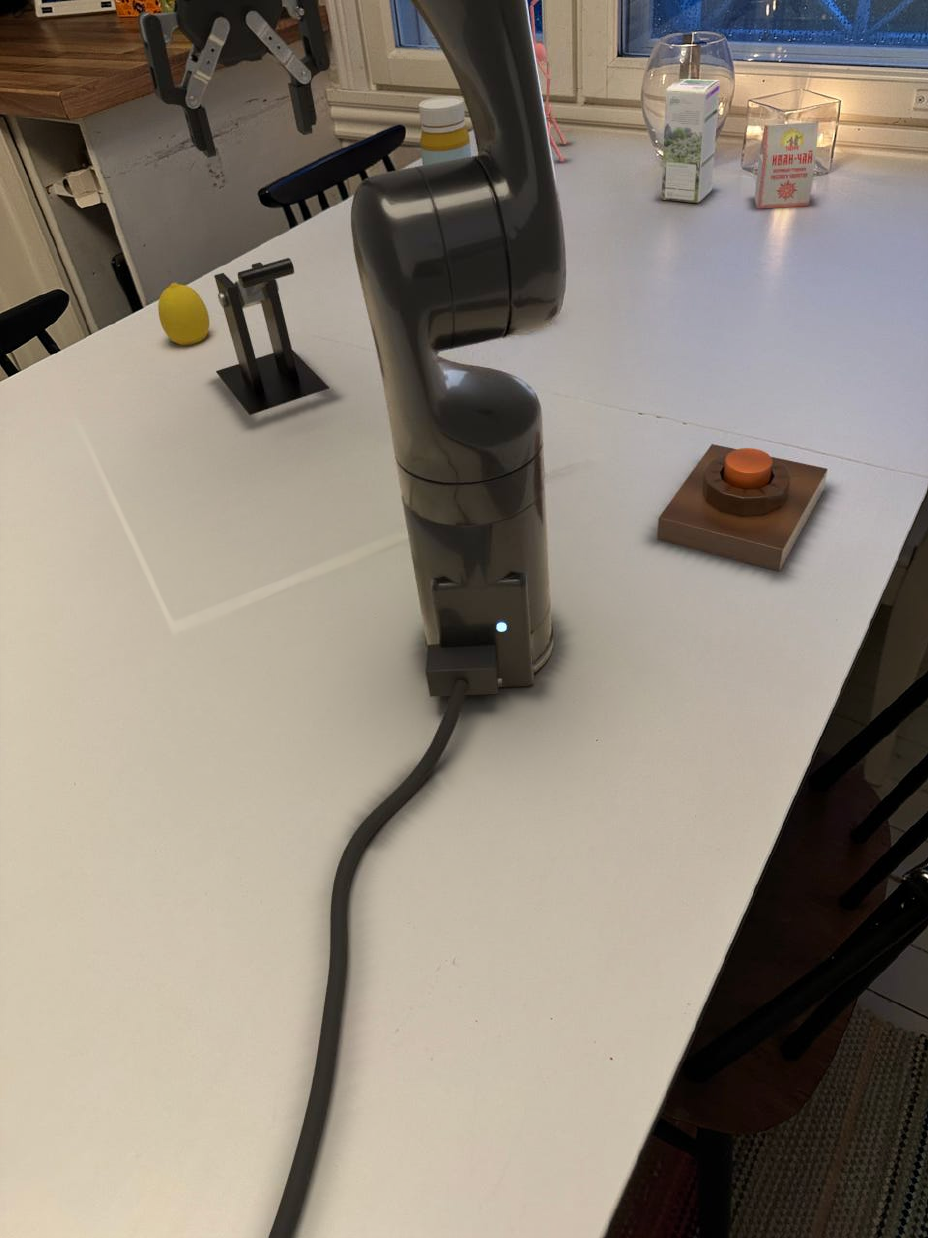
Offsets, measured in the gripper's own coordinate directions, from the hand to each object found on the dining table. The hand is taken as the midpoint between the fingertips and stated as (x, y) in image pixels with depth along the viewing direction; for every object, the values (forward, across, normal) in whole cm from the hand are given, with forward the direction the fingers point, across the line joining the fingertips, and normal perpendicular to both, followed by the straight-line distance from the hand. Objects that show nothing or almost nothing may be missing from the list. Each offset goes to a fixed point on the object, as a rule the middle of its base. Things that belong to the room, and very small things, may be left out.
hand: (258, 143), depth 79 cm
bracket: (+26, -2, +9) cm, 28 cm away
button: (+23, +24, -37) cm, 50 cm away
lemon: (+26, -7, +25) cm, 37 cm away
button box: (+26, +24, -37) cm, 52 cm away
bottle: (+26, +38, +44) cm, 64 cm away
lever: (+14, -2, +4) cm, 15 cm away
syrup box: (+26, +67, +27) cm, 77 cm away
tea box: (+26, +75, +16) cm, 81 cm away
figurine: (+26, +60, +61) cm, 89 cm away
